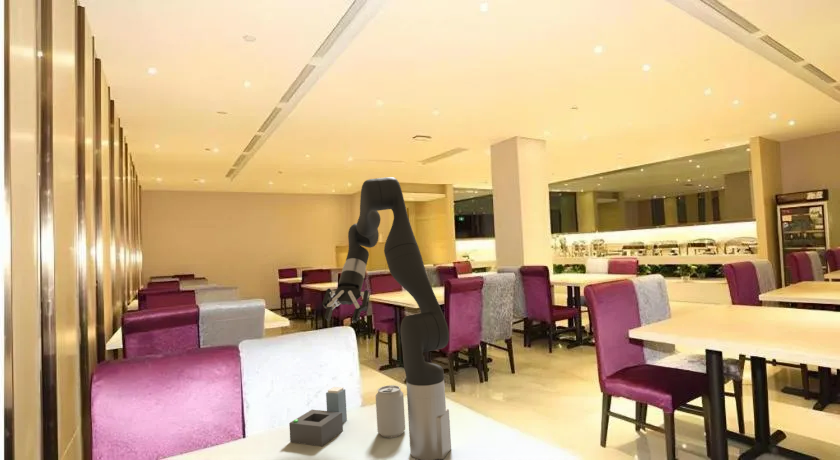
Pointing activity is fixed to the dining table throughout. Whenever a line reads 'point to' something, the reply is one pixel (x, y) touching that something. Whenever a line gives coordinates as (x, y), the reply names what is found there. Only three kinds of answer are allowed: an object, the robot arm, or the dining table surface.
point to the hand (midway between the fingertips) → (340, 320)
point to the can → (390, 411)
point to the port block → (316, 427)
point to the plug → (337, 401)
